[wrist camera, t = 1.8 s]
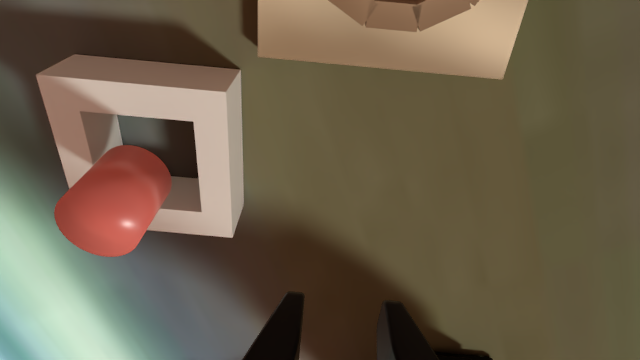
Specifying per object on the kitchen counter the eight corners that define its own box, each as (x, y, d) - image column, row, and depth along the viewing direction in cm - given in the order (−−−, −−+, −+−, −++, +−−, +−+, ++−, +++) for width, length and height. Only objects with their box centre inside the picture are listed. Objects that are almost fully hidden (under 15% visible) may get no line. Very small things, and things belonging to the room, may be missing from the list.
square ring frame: (244, 204, 24) (232, 237, 22) (106, 191, 24) (79, 223, 22) (240, 69, 20) (226, 92, 18) (74, 54, 20) (35, 74, 18)
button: (182, 196, 21) (145, 260, 17) (117, 190, 21) (66, 252, 17) (175, 138, 19) (133, 194, 15) (104, 131, 19) (44, 186, 15)
